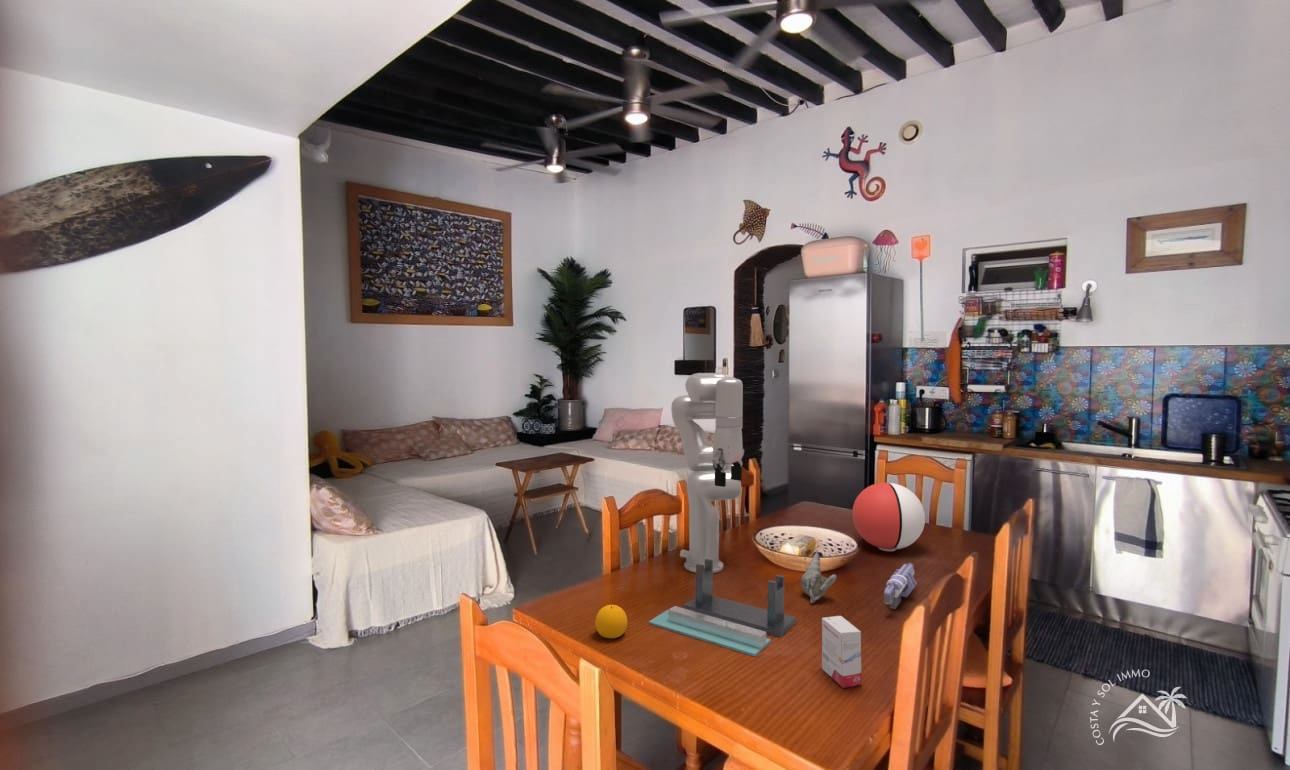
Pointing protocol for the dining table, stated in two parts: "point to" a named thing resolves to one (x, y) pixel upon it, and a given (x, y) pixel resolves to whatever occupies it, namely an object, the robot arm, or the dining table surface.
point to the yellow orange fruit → (611, 621)
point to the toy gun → (899, 585)
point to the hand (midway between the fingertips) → (728, 482)
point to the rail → (717, 627)
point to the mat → (705, 635)
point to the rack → (741, 605)
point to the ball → (888, 516)
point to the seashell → (815, 580)
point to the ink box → (841, 651)
